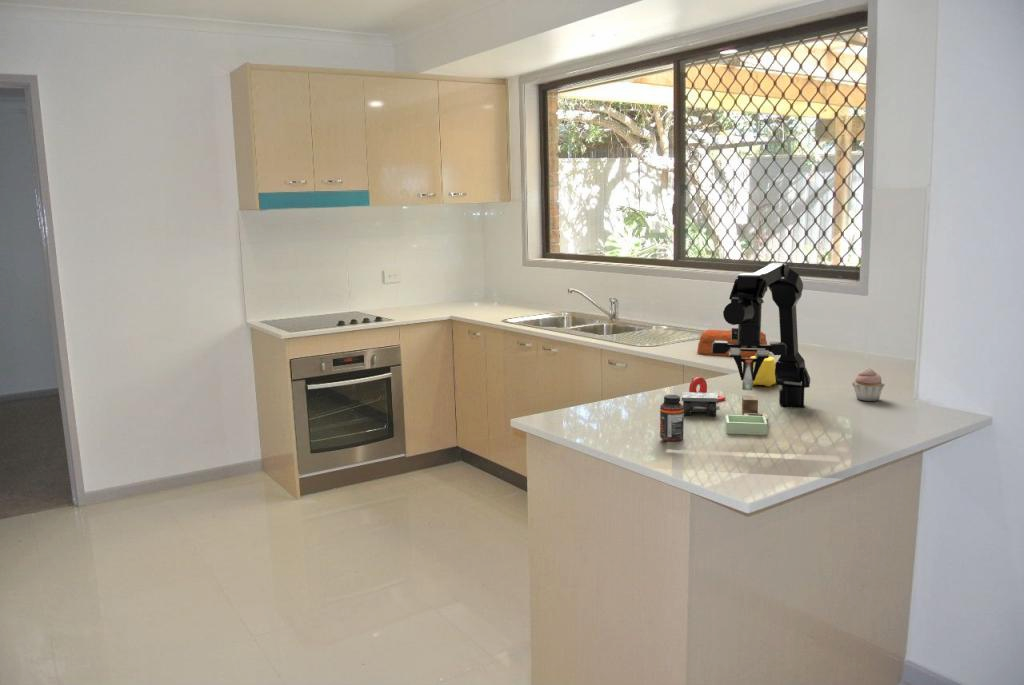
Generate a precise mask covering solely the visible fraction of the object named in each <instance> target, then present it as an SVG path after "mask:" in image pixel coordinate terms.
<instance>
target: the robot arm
mask: <svg viewBox="0 0 1024 685" xmlns="http://www.w3.org/2000/svg"><path fill="white" fill-rule="evenodd" d="M768 289H769V290H770V293H771V298H772V301H773V302H774V303H775V305H776V306H777V308H778V318H779V319H778V320H779V321H778V322H779V336H780V337H779V338H780V341H769V344H767V345H760V338H761V332H762V308H763V307H762V306H763V305H762V304H764V303H765V302H764V297H765V294H766V292H767V291H768ZM803 290H804V283H803V281H802V277H801V276H800V275H799V273H797V272H796V271H795V270H792V268H790V266H789V265H788V264H787V263H785V262H770V263H768V264H767V265H766V266H765V267H763V268H761V269H759V270H757V271H755V272H743V273H739V274H738V275H737V276H736V278H735V280H734V283H733V285H732V288H731V291H730V295H729V298H728V300H730V302H729V303H728V304H727V305H726V306H725V307H724V309H723V311H722V315H723V319H724V320H725V322H726V323H727V324H730V325H732V326H736V325H738V326H737V327H738V328H737V327H736V328H735V327H732V328H731V330H730V331H731V340H732V341H737V343H738V344H728V342H727V341H714V342H713V343H712V353H714V354H725V353H726V352H727V351H729V356H728V357H729V358H733V359H734V361H735V365H736V366H737V370H738V373H739V376H740V381H743V362H742V359H741V358H742V357H741V354H740V351H755V352H757V353H756V356H755V359H756V360H755V363H754V369H753V381H754V380H755V378H756V375H757V373H758V370H759V368H760V366H761V364H762V362H763V361H764V359H765V358H769V357H770V356H769V353H771V354H772V355H774V356H779V357H778V360H777V361H775V362H776V364H775V366H776V368H775V378H776V383H775V385H776V386H780V387H781V388H780V389H779V390H778V404H780V407H781V408H786V409H787V408H789V409H790V408H793V409H805V408H806V405H805V389H806V388H810V386H811V377H810V374H809V372H808V371H809V370H807V367H806V363H805V359H804V357H803V356H802V355H801V353H800V352H799V341H798V340H799V339H798V320H797V304H798V303H799V301H800V299H801V297H802V293H803ZM751 346H756V347H751Z"/></svg>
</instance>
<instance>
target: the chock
mask: <svg viewBox="0 0 1024 685" xmlns="http://www.w3.org/2000/svg"><path fill="white" fill-rule="evenodd" d="M758 411H759V399H758V396H757V394H756V395H754V394H752V395H751V394H743V395H741V413H742V415H744V413H758Z"/></svg>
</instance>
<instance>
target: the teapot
mask: <svg viewBox="0 0 1024 685" xmlns="http://www.w3.org/2000/svg"><path fill="white" fill-rule="evenodd" d="M750 358H755V356H752V357H750ZM776 362H777V361H776V359H775V358H774V356H769V358H765V359H764V361H763V362H762V364H761V366H760V368H759V370H758V373H757V375H756V378H755V380H754V381H753V386H754V385H755V386H756V385H757V386H759V385H760V386H764V387H767V388H768V387H772V385H776V378H775V368H776V366H775V364H776ZM754 363H755V362H754ZM754 363H753V369H754Z"/></svg>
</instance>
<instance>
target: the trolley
mask: <svg viewBox="0 0 1024 685" xmlns="http://www.w3.org/2000/svg"><path fill="white" fill-rule="evenodd" d="M718 395H719V394H718V392H707V393H694V392H689V391H688V392H687V391H686V392H685V391H684V392H683V391H682V394H681V401H682V402H683V403H682V405H683V407H684V416H691V412H690V411H692V412H693V413H694V412H695V413H708V417H709V416H710V417H711V416H712V417H713V416H714V417H717V411H720V405H719V406H717V403H718Z"/></svg>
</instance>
